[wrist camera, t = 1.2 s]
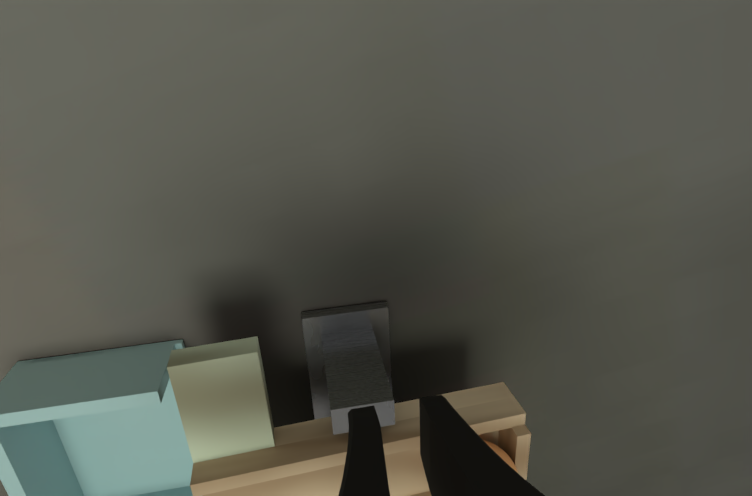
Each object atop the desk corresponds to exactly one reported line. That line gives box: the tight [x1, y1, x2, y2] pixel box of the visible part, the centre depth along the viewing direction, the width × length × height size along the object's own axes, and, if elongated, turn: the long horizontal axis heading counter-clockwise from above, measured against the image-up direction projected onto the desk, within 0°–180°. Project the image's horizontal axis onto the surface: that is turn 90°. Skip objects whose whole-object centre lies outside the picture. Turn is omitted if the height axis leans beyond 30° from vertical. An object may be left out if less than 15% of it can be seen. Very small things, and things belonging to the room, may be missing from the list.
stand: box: [301, 301, 395, 435], centre depth 22 cm, size 10×4×6 cm, turn 3°
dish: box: [0, 339, 193, 496], centre depth 22 cm, size 9×7×4 cm
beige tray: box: [167, 336, 531, 496], centre depth 19 cm, size 10×13×2 cm
